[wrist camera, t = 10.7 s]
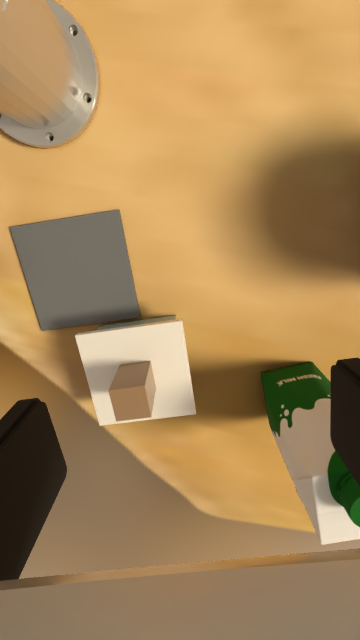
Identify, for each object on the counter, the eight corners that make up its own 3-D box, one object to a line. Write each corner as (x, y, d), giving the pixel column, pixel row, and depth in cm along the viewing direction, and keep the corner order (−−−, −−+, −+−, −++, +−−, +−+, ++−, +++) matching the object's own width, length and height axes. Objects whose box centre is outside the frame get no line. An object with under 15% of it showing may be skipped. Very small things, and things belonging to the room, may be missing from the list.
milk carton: (317, 353, 40) (441, 474, 21) (324, 410, 42) (438, 563, 23) (252, 367, 40) (313, 496, 21) (263, 422, 43) (325, 579, 24)
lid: (77, 333, 34) (54, 356, 28) (181, 318, 33) (181, 339, 27) (101, 421, 37) (85, 459, 31) (196, 410, 37) (198, 446, 31)
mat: (11, 227, 35) (9, 227, 35) (119, 209, 34) (118, 209, 34) (43, 329, 39) (42, 330, 39) (140, 316, 38) (140, 317, 38)
